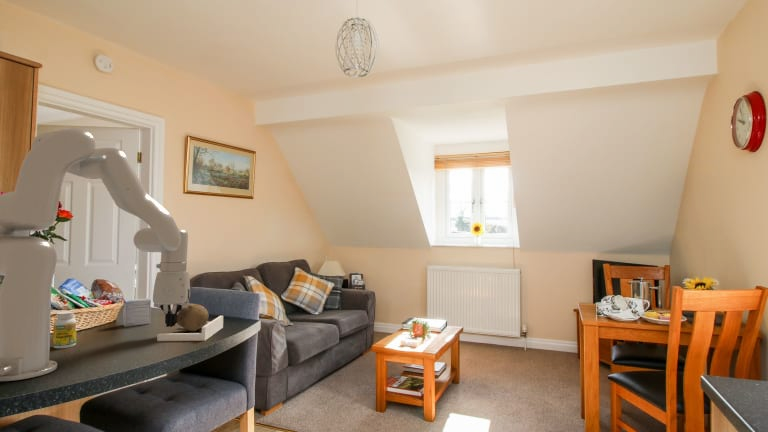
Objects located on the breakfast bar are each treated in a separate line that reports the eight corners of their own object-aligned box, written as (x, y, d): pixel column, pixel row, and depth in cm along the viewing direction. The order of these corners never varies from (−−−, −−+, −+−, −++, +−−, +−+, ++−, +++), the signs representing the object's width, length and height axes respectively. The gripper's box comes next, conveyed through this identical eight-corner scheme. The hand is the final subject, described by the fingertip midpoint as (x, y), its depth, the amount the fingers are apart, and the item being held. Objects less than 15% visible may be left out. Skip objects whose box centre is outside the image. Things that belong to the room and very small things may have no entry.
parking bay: (205, 340, 134) (205, 327, 134) (157, 341, 133) (157, 327, 133) (223, 327, 152) (223, 315, 152) (181, 327, 151) (181, 315, 151)
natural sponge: (179, 341, 143) (211, 333, 148) (178, 321, 138) (211, 313, 144) (174, 321, 149) (205, 314, 154) (172, 302, 145) (205, 295, 150)
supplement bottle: (76, 343, 130) (77, 310, 131) (75, 347, 126) (76, 313, 126) (53, 345, 128) (54, 311, 128) (52, 349, 123) (53, 314, 123)
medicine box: (147, 322, 160) (148, 298, 161) (150, 324, 157) (151, 299, 157) (122, 325, 155) (123, 300, 156) (125, 327, 152) (125, 301, 152)
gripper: (143, 268, 138) (140, 328, 137) (193, 268, 139) (190, 328, 138) (154, 266, 146) (151, 323, 144) (201, 267, 146) (199, 324, 145)
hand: (170, 325), depth 141 cm, fingers closed
